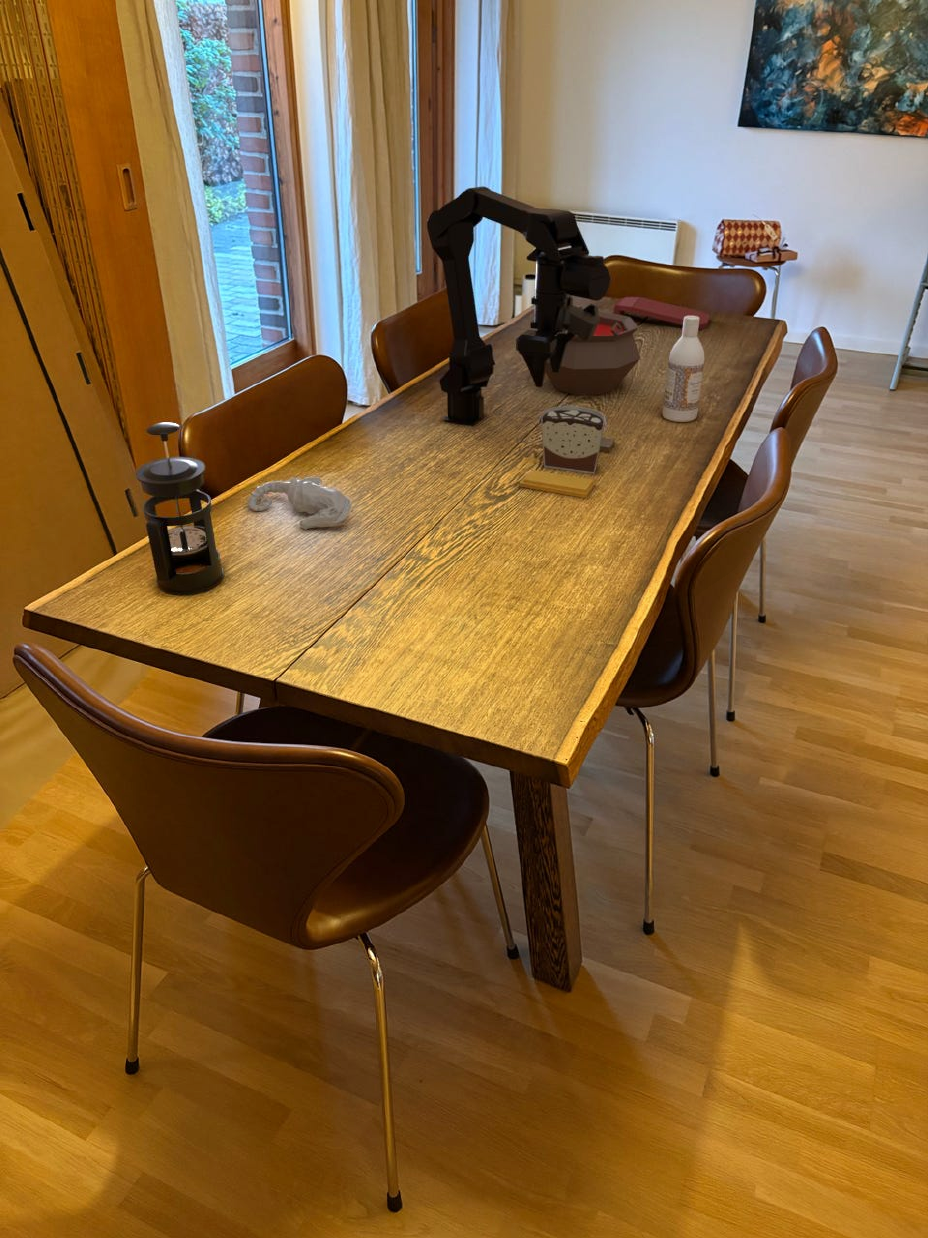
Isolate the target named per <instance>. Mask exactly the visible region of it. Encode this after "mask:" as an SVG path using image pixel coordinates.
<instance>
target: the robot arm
mask: <svg viewBox="0 0 928 1238" xmlns="http://www.w3.org/2000/svg"><path fill="white" fill-rule="evenodd" d="M483 219H487V220H489V221H492V222H495V223H497V224H499V225H502V226H503V227H506V228H508V229H511V230H512V231H513V230H514V231H516V232H518V233H519V234H521V235H522V236H523V237H524V239H525V241H526V242H527V243H528V244H529V245H531V246H532V247H534V249H533V250H532V251H531V252H530V253H529V254H528V255H527V256H526V260H527V261H529V262H535V263H536V264H535V266H536V267H535V287H534V288H535V289H534V290H535V291H534V296H533V297H531V299H530V305H534V313H533V314H534V315H533V318H534V319H533V320H532V321H530V324H529V325H530V327H529V328H530V329H526V330H525V331H524V332H523V333H521V334H520V335H519V336H518V337H516V339H515V351H517V352H518V354H519V355H521V357H522V359H523V361H524V363H525V365H526V367H527V370H528V372H529V373H530V376H531V378H532V380H533V382H534V385H535V387H536V388H542V387H543V385H544V382H545V377H546V366H547V361H548V358H549V360H550V364H551V368H552V371H553V372H555V373H558V372H559V370H560V366H561V363H562V360H563V357H564V353H565V350H566V347H567V344H568V342H569V341H570V340H571V339H572V338H573V337H574V336H576V335H577V336H579V338H580V339H582V340H589V338H590V337H591V336H593V335H594V332H595V330H596V328H597V325H598V324H599V323H600V316H598V311H599V306H598V305H595V304H593V303H590V304H588V305H587V306H586V307H585V308H583V307H582V306H579V307H578V306H576V305H574V297H578V298H582V299H587V300H591V301H596V302H597V301H601V300H602V299H603V298H605V296H606V294H607V293H608V291H609V288H610V285H611V275H610V271H609V268H608V266H607V265H605V264H604V262H605V261H604V260H605V258H604V256H603V255H590V251H589V248H588V246H587V244H586V242H585V240H584V237H583V235H582V233H581V230H580V228H579V226H578V222H577V220H576V215H575V214H574V213H573V212H572V211H570V210H566V209H559V208H544V207H534V206H533V205H530V204H528V203H524V202H522V201H519V200H516V199H514V198H511V197H509V196H507V195H504V194H502V193H498V192H496V191H493V190H492V189H490V188H489V187H487V186H483V185H482V186H476V187H468V188H466V189H465V190H464V191H462V192H461V193H460V194H459V195H458V196H457V197H456V198H454V199H452V200H450V201H448V202H447V203H446V204H445V205H443V206H442V207H440V208H439V209H435V210H434V211H432V212H431V213H430V215H429V217H428V219H427V221H426V229H427V233H428V238H429V241H430V244H431V248H432V249H433V251H434V252H435V254H436V255H437V257H438V258H439V259H440V261H441V263H442V269H443V275H444V282H445V288H446V294H447V295H446V296H447V300H448V308H449V314H450V321H451V327H452V333H453V343H452V346H451V348H450V352H449V355H448V365H449V368H448V370H447V371H446V372H445V374H444V375H442V377H440V379H439V381H438V383H439V386H440V390H441V391H442V392H443V393H446V395H447V396H446V397H447V398H446V399H447V400H446V401H447V403H446V405H447V407H446V409H447V411H446V412H447V415H446V416H445V417H444V418H443V421H444V422H450V423H456V424H461V425H469V426H474V425H475V424H476V423H477V422H479V421H481V419H483V418H484V417H485V415H486V413H485V412H484V411H485V399H484V398H485V397H484V396H483V395H482V393H483V389H482V388H486V387H487V386H488V384H489V381H490V379H491V377H492V375H493V374H494V366H496V362H495V359H494V355H493V354H494V352H493V351H494V350H493V346H492V344H491V343H487V344H486V342H485V341H484V340H483V338H482V337H481V336H480V329H479V322H478V315H477V308H476V300H475V294H474V287H473V280H472V273H471V272H472V271H471V265H470V254H471V251H472V248H473V245H474V242H475V227H477V226H478V224H480V223H481V222H482V221H483ZM572 296H573V297H572Z"/></svg>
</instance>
